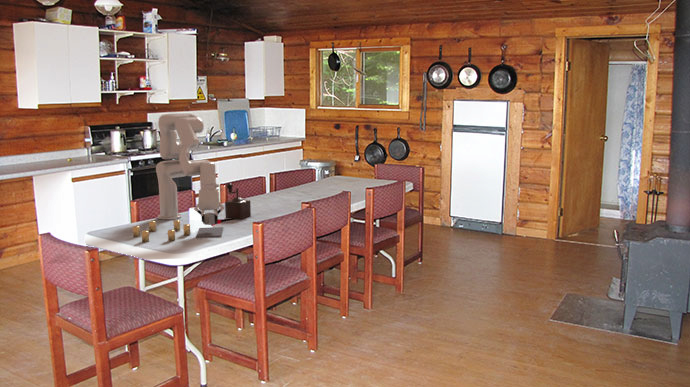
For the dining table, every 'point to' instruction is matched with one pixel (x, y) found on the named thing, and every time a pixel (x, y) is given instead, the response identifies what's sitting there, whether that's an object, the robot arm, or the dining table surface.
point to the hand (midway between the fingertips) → (209, 222)
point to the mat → (209, 232)
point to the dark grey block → (209, 218)
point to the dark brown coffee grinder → (237, 206)
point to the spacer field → (153, 228)
